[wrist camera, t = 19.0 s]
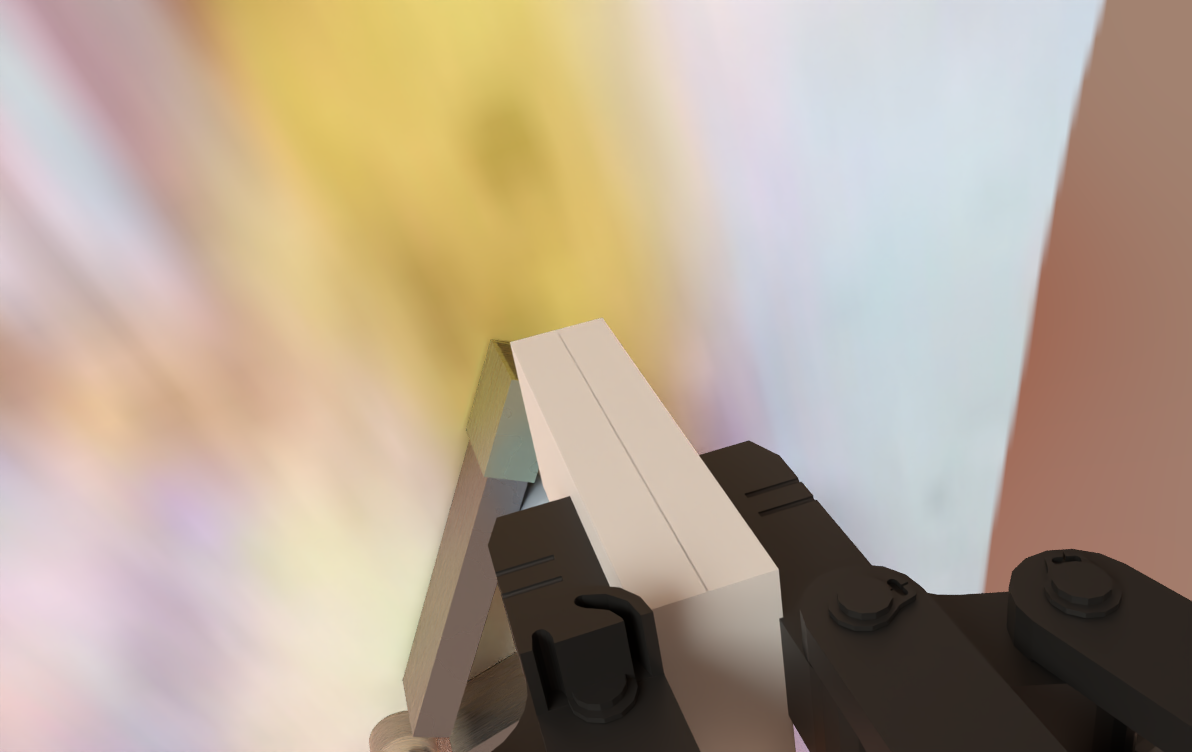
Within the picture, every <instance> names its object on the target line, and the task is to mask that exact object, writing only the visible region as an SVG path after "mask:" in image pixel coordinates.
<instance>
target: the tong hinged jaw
mask: <svg viewBox="0 0 1192 752" xmlns="http://www.w3.org/2000/svg"><path fill="white" fill-rule="evenodd" d="M466 431H467V434H468V437H469V443H468V446H467V450H466V454H465V457H464V461H463V465H462V468H461V472H460V475H459V479H458V483H457V486H456V490H455V493H454V497H453V501H452V504H451V508H450V511H449V515H448V519H447V522H446V526H445V529H444V533H443V537H442V540H441V544H440V548H439V551H438V555H437V558H436V562H435V566H434V569H433V573H432V576H431V580H430V584H429V587H428V591H427V594H426V598H425V602H424V605H423V609H422V612H421V616H420V620H419V623H418V627H417V631H416V634H415V638H414V641H413V645H412V649H411V652H410V656H409V659H408V663H407V667H406V670H405V674H404V677H403V684H404V690H405V696H406V701H407V707H408V713H409V719H410V725H411V730H412V736H413V737H438V738H450V736H451V733H452V730H453V727H454V723H455V720H456V717H457V713H458V710H459V707H460V704H461V700H462V697H463V694H464V690H465V687H466V684H467V681H468V677H469V674H470V671H471V667H472V664H473V661H474V658H475V654H476V651H477V648H478V644H479V641H480V638H481V635H482V631H483V628H484V625H485V621H486V618H487V615H488V612H489V608H490V605H491V602H492V598H493V595H494V592H495V589H496V585H497V578H496V574H495V571H494V567H493V563H492V560H491V556H490V552H489V549H488V543H489V540H490V537H491V533H492V530H493V527H494V524H495V521H496V518H497V517H500V516H504V515H507V514H510V513H514V512H517V511H519V510H520V506H521V503H522V500H523V497H524V493H525V490H526V487H527V483H528V482H532V483H534V482H535V479H536V476H537V473H538V469H539V466H538V462H537V458H536V453H535V449H534V445H533V440H532V436H531V432H530V427H529V423H528V419H527V414H526V410H525V405H524V401H523V397H522V392H521V388H520V384H519V379H518V375H517V371H516V366H515V362H514V358H513V353H512V349H511V345H510V343H507V342H502V341H496V340H491V341H490V344H489V348H488V352H487V355H486V359H485V363H484V366H483V370H482V374H481V377H480V381H479V384H478V388H477V392H476V395H475V399H474V403H473V406H472V410H471V414H470V417H469V421H468V425H467V428H466Z"/></svg>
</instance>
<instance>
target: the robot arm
mask: <svg viewBox="0 0 1192 752" xmlns="http://www.w3.org/2000/svg"><path fill="white" fill-rule="evenodd" d="M510 345H511V349H512V353H513V358H514V362H515V366H516V371H517V375H518V379H519V384H520V388H521V392H522V397H523V401H524V405H525V410H526V414H527V419H528V423H529V427H530V432H531V436H532V440H533V445H534V449H535V453H536V458H537V462H538V466H539V471H540V475H541V479H542V484H543V487H544V489H545V492H546V494H547V497H548V499H549V502H548V503H544V504H541V505H538V506H534V507H531V508H527V509H524V510H521V511H517V512H514V513H510V514H507V515H504V516H500V517H497V518H496V521H495V524H494V527H493V530H492V533H491V537H490V540H489V543H488V549H489V552H490V556H491V560H492V563H493V567H494V571H495V574H496V578H497V582H498V585H499V589H500V592H501V596H502V600H503V603H504V607H505V611H506V614H507V618H508V622H509V625H510V629H511V633H512V636H513V640H514V643H515V647H516V650H517V654H518V658H519V661H520V665H521V668H522V672H523V675H524V679H525V682H526V686H527V694H528V695H527V700H526V705H525V710H524V712H523V714H522V716H521V718H520V720H519V722H518V724H517V726H516V727H515V729H514V730H513V731H512V732H511V733H510V735H509V736H508V737H507V738H506V739H505V741H504V742H502V743H501V744H500V745H499V746H498V747H496V748H495V749H494V750H493V751H491V752H796V750H795V739H794V729H793V724H794V726H795V727H796V729H797V731H798V732H799V734H800V736H801V738H802V739H803V741H804V743H805V744H806V746H807V748H808V749H809V751H810V752H1192V601H1190V600H1189V599H1187V598H1185V597H1183V596H1182V595H1180V594H1178V593H1176V592H1174V591H1172V590H1171V589H1169V588H1167V587H1166V586H1164V585H1162V584H1160V583H1158V582H1157V581H1155V580H1153V579H1151V578H1149V577H1148V576H1146V575H1144V574H1142V573H1140V572H1139V571H1137V570H1135V569H1133V568H1132V567H1130V566H1128V565H1126V564H1124V563H1122V562H1119V561H1117V560H1114V559H1112V558H1110V557H1107V556H1105V555H1102V554H1100V553H1094V552H1088V551H1082V550H1075V549H1066V550H1050V551H1045V552H1042V553H1039V554H1036V555H1034V556H1031V557H1028V558H1026V559H1025V560H1023V561H1022V563H1020V564H1019V565H1018V566H1017V567H1016V568H1015V569H1014V570H1013V571H1012V575H1011V580H1010V584H1009V592H997V593H982V594H966V595H936V594H930V593H927V592H926V591H925V590H924V589H923V588H922V587H921V586H920V585H918V584H917V583H916V582H915V581H913V580H912V579H911V578H909V577H908V576H907V575H905V574H903V573H900V572H897V571H894V570H891V569H889V568H886V567H883V566H872V565H871V564H870V563H869V561H868V560H867V559H866V558H865V557H864V555H863V554H862V553H861V552H860V551H859V550H858V548H857V547H856V546H855V545H854V544H853V542H852V541H851V540H850V539H849V538H848V536H847V535H846V534H845V533H844V532H843V531H842V529H841V528H840V527H839V526H838V525H837V523H836V522H835V521H834V520H833V519H832V517H831V516H830V515H829V514H828V513H827V512H826V510H825V509H824V508H823V507H822V506H821V504H820V503H819V502H818V501H817V500H814V498H813V495H812V494H811V493H810V491H809V490H808V489H807V488H806V487H805V485H804V484H803V483H802V482H799V480H798V477H797V476H796V475H795V474H794V472H793V471H792V470H791V469H790V468H789V466H788V465H787V464H786V463H785V462H784V460H783V459H782V458H781V457H780V456H779V455H777V454H775V453H773V452H771V451H769V450H767V449H765V448H763V447H761V446H759V445H757V444H755V443H753V442H751V441H746V442H742V443H739V444H736V445H732V446H729V447H725V448H722V449H719V450H715V451H712V452H708V453H705V454H702V455H698V453H697V452H696V451H695V449H694V448H693V446H692V445H691V443H690V442H689V441H688V439H687V438H686V436H685V435H684V433H683V432H682V431H681V429H680V428H679V426H678V425H677V423H676V422H675V421H674V419H673V418H672V416H671V415H670V413H669V412H668V411H667V409H666V408H665V406H664V405H663V403H662V402H661V401H660V399H659V398H658V396H657V395H656V393H655V392H654V391H653V389H652V388H651V386H650V385H649V384H648V382H647V381H646V379H645V378H644V376H643V375H642V374H641V372H640V371H639V369H638V368H637V366H636V365H635V364H634V362H633V361H632V359H631V358H630V356H629V355H628V354H627V352H626V351H625V349H624V348H623V346H622V345H621V344H620V342H619V341H618V339H617V338H616V336H615V335H614V334H613V332H612V331H611V329H610V328H609V326H608V325H607V324H606V322H605V321H604V319H603V318H599V319H595V320H592V321H588V322H584V323H580V324H577V325H573V326H569V327H565V328H562V329H558V330H554V331H550V332H547V333H543V334H539V335H535V336H532V337H528V338H524V339H520V340H517V341H513V342H510Z"/></svg>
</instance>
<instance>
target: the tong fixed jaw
mask: <svg viewBox="0 0 1192 752" xmlns="http://www.w3.org/2000/svg"><path fill="white" fill-rule="evenodd" d="M527 695H528V694H527V686H526V682H525V679H524V675H523V672H522V668H521V665H520V661H519V658H518V654H517V652H516V653H515V654H513V655H511V656H510V657H508V658H506V659H505V660H503V661H501V662H500V663H498V664H496V665H495V666H493V667H491V668H490V669H488V670H487V671H485V672H483V673H482V674H480V675H478V676H477V677H475V678H473V679H472V680H470V681H468V682H467V684H466V687H465V690H464V694H463V697H462V700H461V704H460V707H459V710H458V713H457V717H456V720H455V723H454V727H453V730H452V733H451V736H450V738H449V739H450V744H451V748H452V752H491V751H493V750H494V749H495V748H496V747H498V746H499V745H500V744H501V743H502V742H504V741H505V739H506V738H507V737H508V736H509V735H510V733H511V732H512V731H513V730H514V729H515V727H516V726H517V724H518V722H519V720H520V718H521V716H522V714H523V712H524V710H525V705H526V700H527ZM369 745H370V752H439V747H438V742H437V738H436V737H413V736H412V730H411V725H410V719H409V713H408V711H403V712H398V713H395V714H392V715H389V716H387V717H386V718H384V719H383V720H381V721H380V722H379V723H378V724H377V725H376V726H375V727H374V729H373V730H372V732H371V734H370V738H369Z"/></svg>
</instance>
